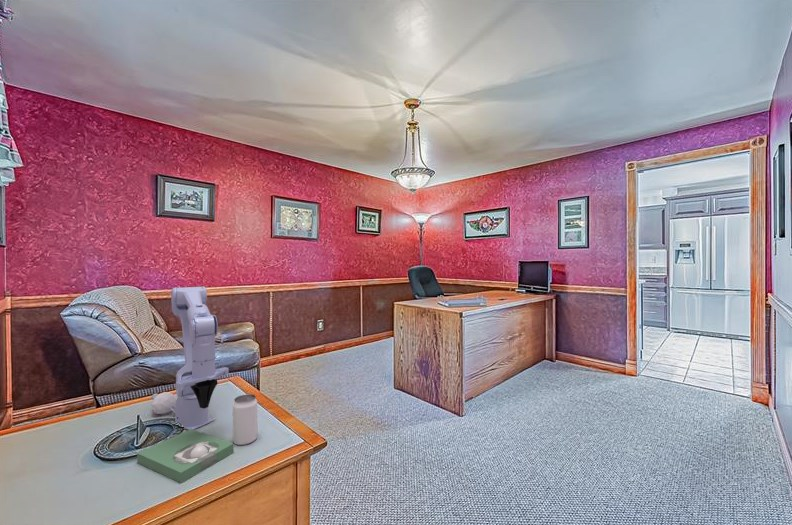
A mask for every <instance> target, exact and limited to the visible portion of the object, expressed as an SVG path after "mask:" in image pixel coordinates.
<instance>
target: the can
mask: <svg viewBox="0 0 792 525" xmlns="http://www.w3.org/2000/svg"><path fill="white" fill-rule="evenodd" d="M256 398H257V397H256V395H255V394H252V393H250V394H242V395H239V396H236V397H235V398H234V399H233V404H232V443H233V444H234V445H237V446H245V445H246V446H247V445H250V444H252V443H254V442H255V441H256V440H257V438H258V435H259V434H258V428H259V427H258V400H257V399H256Z"/></svg>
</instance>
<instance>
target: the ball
mask: <svg viewBox="0 0 792 525" xmlns="http://www.w3.org/2000/svg"><path fill="white" fill-rule="evenodd" d="M207 453H208V450H207V448H206V447H205V446H197V447H195V448H194V449H193V450H192V451H191V453H190V458H189V459H194V458H200V457H201V456H203V455H205V454H207Z"/></svg>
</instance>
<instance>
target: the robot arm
mask: <svg viewBox="0 0 792 525" xmlns="http://www.w3.org/2000/svg"><path fill="white" fill-rule="evenodd" d="M170 297H171V298H170V300H171V309H172V310H171V311H172V313H173V316H176V317H179V319H180V323H181V329H182V330H181V332H182V341H183V351H184V352H183V354H184V365H183V366H182V367H181V368H180V369H178V371H176V374H175V391H176V393H175V394H176V396H177V398H176V403H175V408H174V410H175V416H174V418H175V419H174V420H175V421H176V422H179V423H181V424H182V425H183V427H184V428H183V429H184V430H186V431H187V430H190V429H192V430H197V429H199V428H200V427H203V426H206V425H207V424H209V423H212V422H214V421H216V420H215V418H214V417H212V416H209V406H210V403H211V398H212V395H213V393H214V391H215V389H216V387H217V385H218V379H217V378H219V377H222V376H227V375H230V373H229V370H230V369H229V367H225V366H224V367H220V368H219V367H218V368H216V336H217V335H218V328H219V327H218V326H219V325H218V320H217V319H218V318H217V315H215V314H211V312H210V310H209V307H208V306H207V301H208V293H207V288H206V287H205V286H203V285H202V286H188V287H187V286H186V287H176V286H175V287H173V288H171V292H170ZM175 421H174V422H175Z"/></svg>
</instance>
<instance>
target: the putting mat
mask: <svg viewBox="0 0 792 525" xmlns="http://www.w3.org/2000/svg"><path fill="white" fill-rule="evenodd" d="M234 445H235V443H234V442H230V441H228V440H224V439H221V438H218V437H215V436H212V435H209V434H207V433H204V432H201V431H198V430H196V429H194V430H192V429H190V430H187V429H186V431H183V432H181V433H179V434H177V435H175V436H172V437H170V438H168V439H166V440H164V441H161V442H159V443H157V444H154V445H153V446H150V447H147V448H146V449H144V450H141V451H139V452H137V453H136V458H137V459H136V461H137V462H136V464H139V465H141V466H144V467H146V468H148V469H150V470H152V471H154V472H157V473H159V474H161V475H163V476H165V477H167V478H169V479H171V480H174V481H176V482H178V483H180V484H182V483H184V482H186V481H187V480H189V479H191V478H192V477H194V476H196V475H198V474H199V473H201V472H203V471H204V470H206V469H208V468H209V467H212V466H213V465H215V464H216V463H218V462H220V461H221V460H224V459H225V458H227V457H228V456H230V455H231V454H234V450H235V449H234ZM197 446H205V447H206V448H207V450H208V453H207V454H205V455H203V456H201V457H200V458H194V459H190V453H191V451H192V450H193V449H194V448H195V447H197Z"/></svg>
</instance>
